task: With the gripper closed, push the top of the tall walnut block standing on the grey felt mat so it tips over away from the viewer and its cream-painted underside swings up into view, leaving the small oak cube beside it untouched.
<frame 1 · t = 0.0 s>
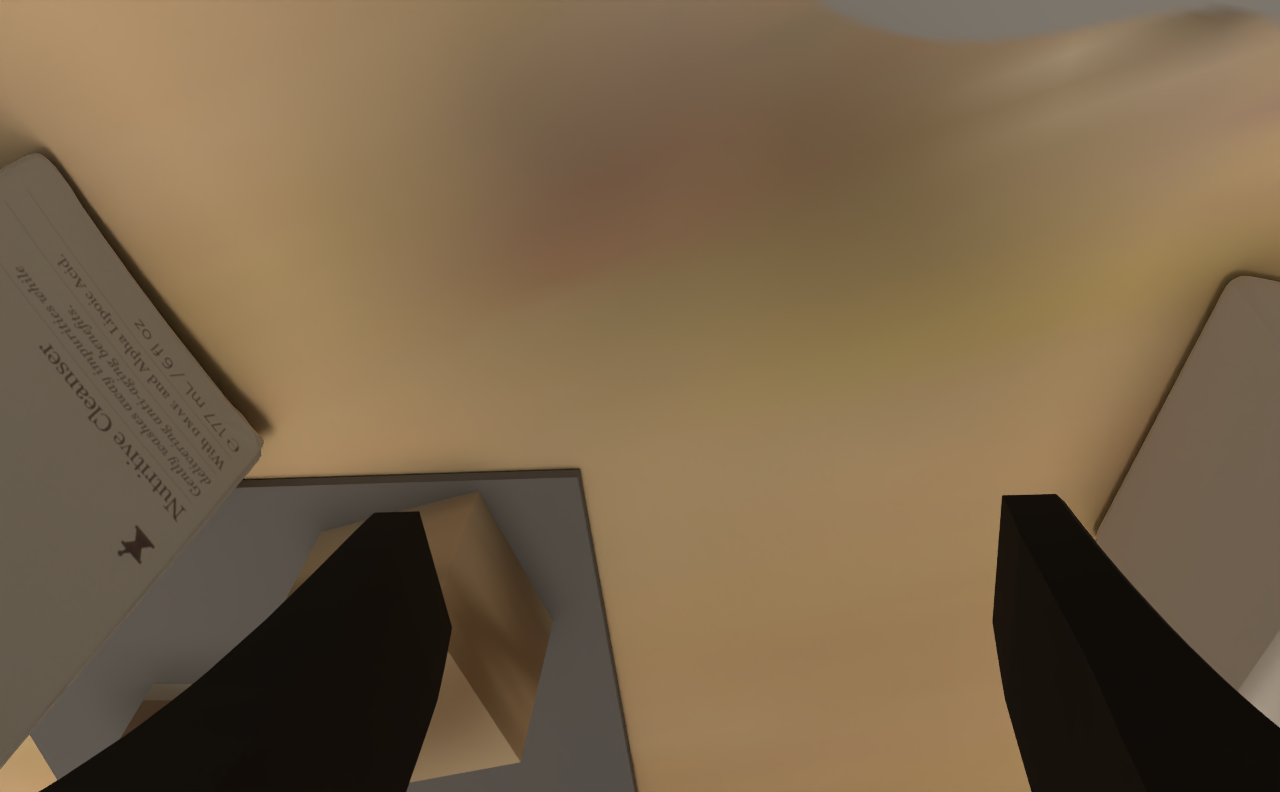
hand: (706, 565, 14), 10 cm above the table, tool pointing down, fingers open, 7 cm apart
felt mat: (299, 679, 31), on the table
walnut block: (249, 736, 32), resting on felt mat
skincare box: (69, 339, 26), on the table, touching felt mat
oak cube: (438, 577, 28), resting on felt mat
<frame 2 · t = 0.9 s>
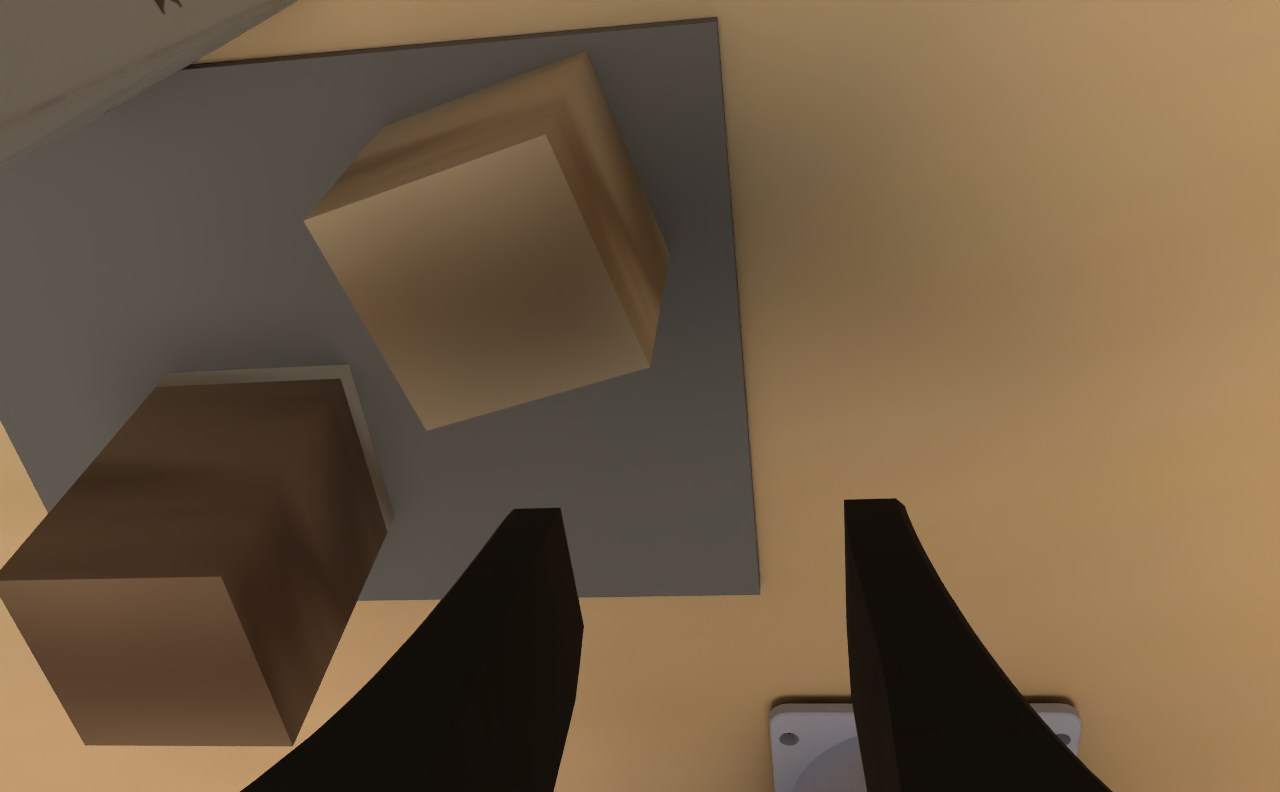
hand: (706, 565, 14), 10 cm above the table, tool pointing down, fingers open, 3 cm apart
felt mat: (347, 364, 25), on the table
walnut block: (285, 446, 27), resting on felt mat
oak cube: (528, 191, 22), resting on felt mat
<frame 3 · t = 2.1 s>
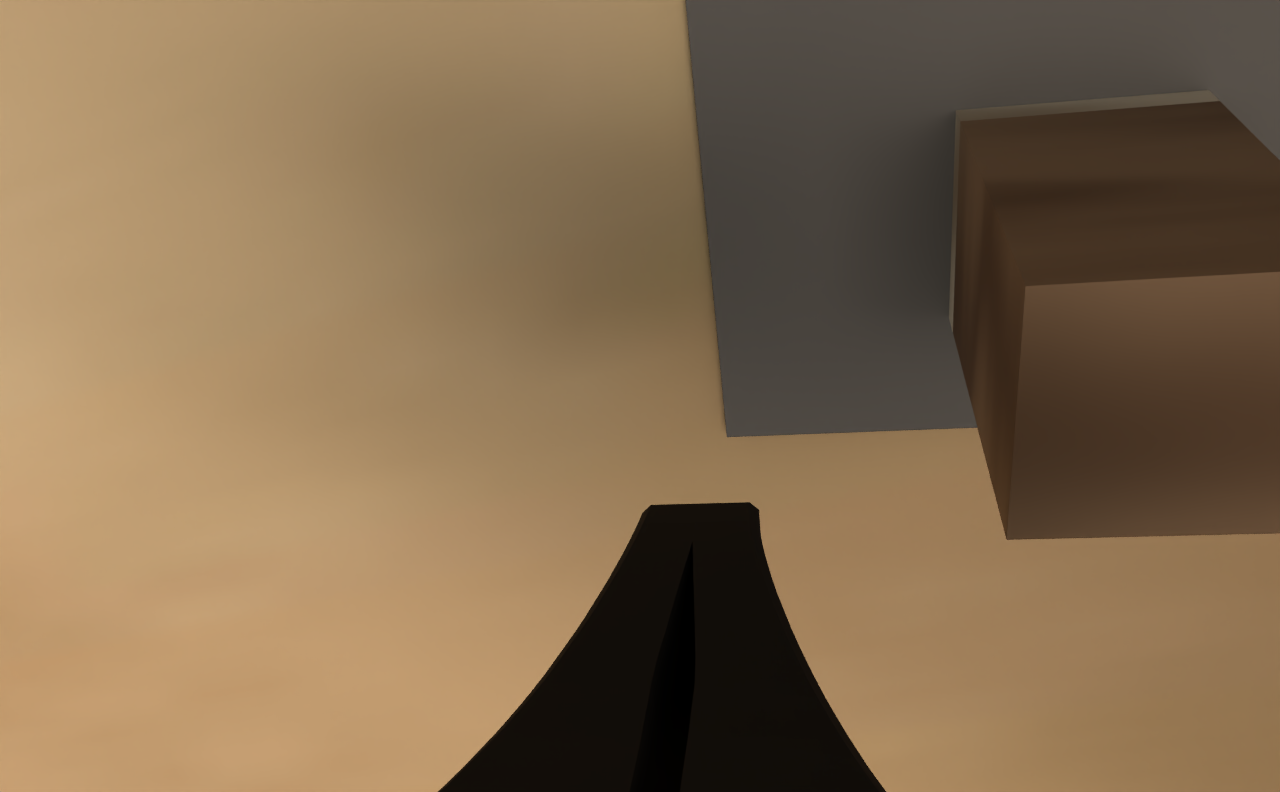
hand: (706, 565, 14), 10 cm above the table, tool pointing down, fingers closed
felt mat: (1190, 96, 20), on the table
walnut block: (1069, 211, 22), resting on felt mat
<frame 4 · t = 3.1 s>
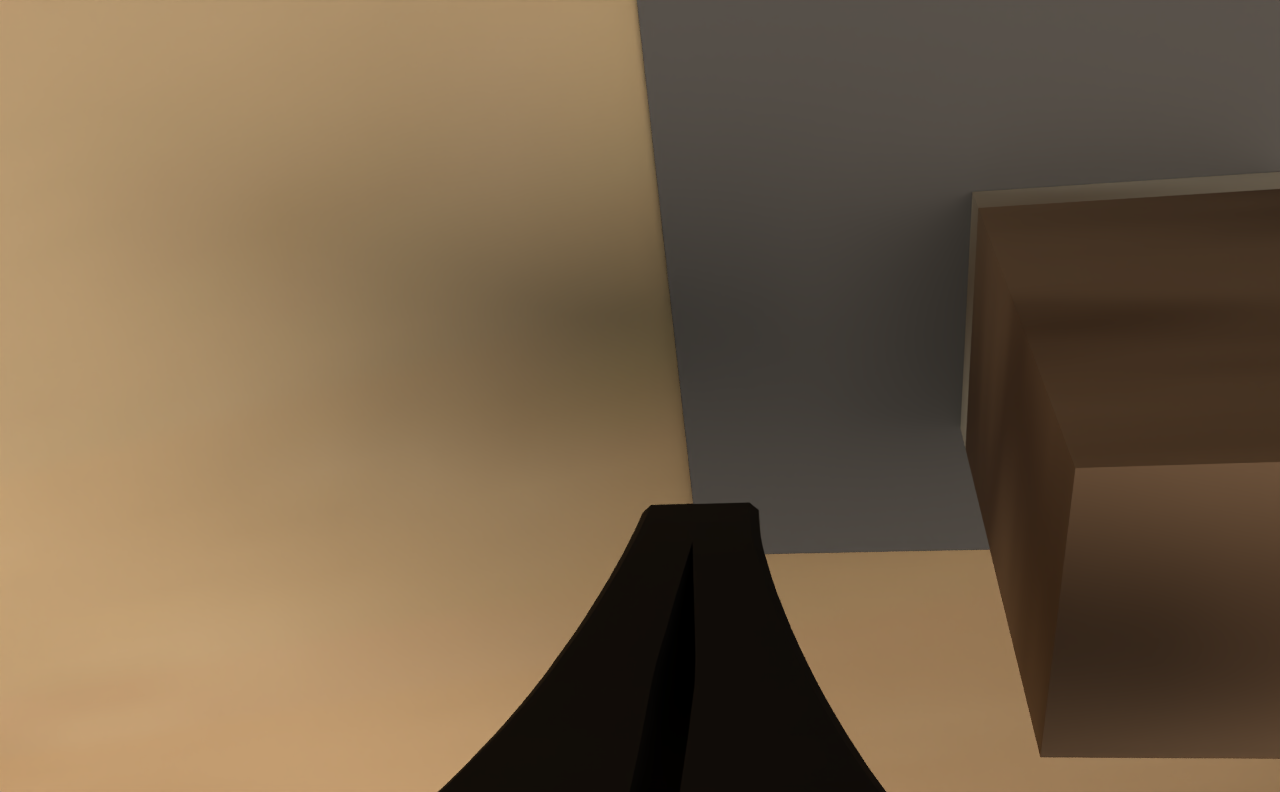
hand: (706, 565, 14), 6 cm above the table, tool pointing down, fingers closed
felt mat: (1256, 177, 17), on the table
walnut block: (1107, 310, 18), resting on felt mat
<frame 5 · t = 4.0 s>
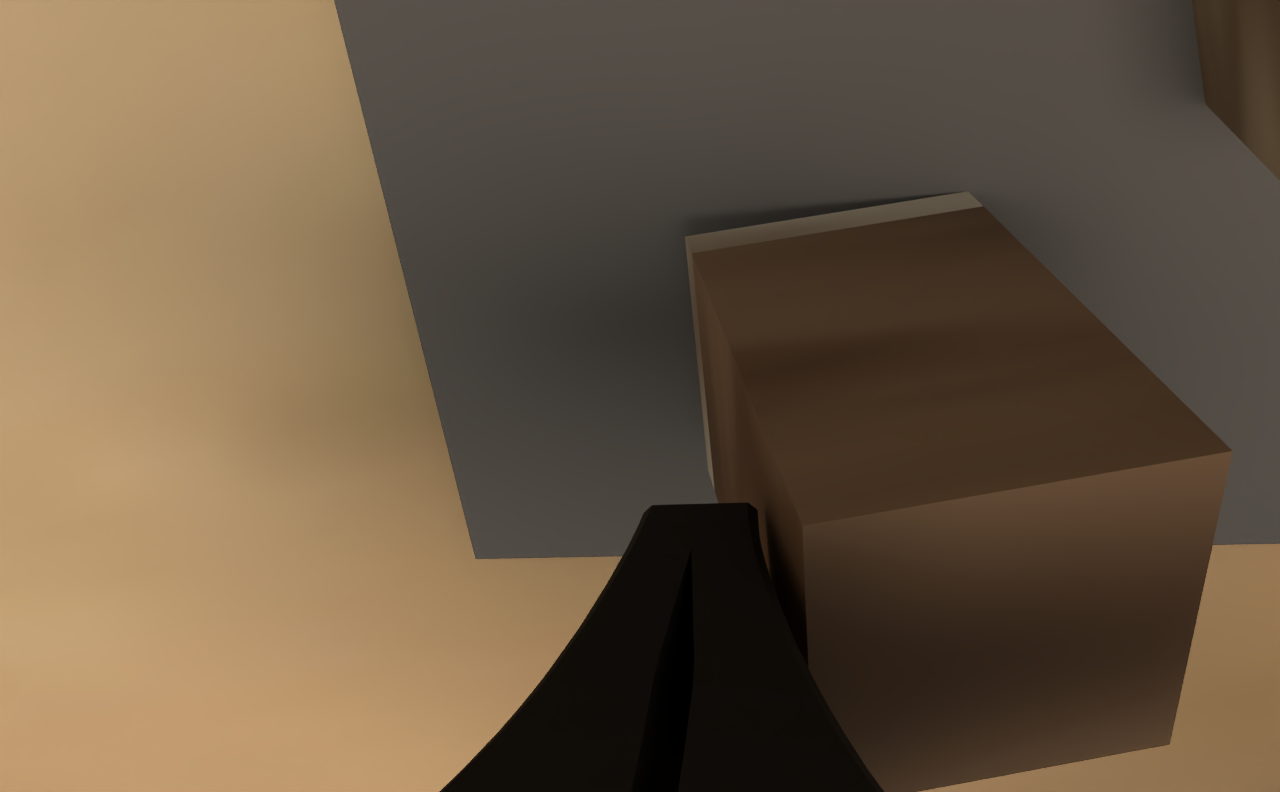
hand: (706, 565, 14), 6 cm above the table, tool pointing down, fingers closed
felt mat: (951, 196, 17), on the table
walnut block: (830, 338, 18), point 1 cm above the table, tilted 13°, touching felt mat, gripper
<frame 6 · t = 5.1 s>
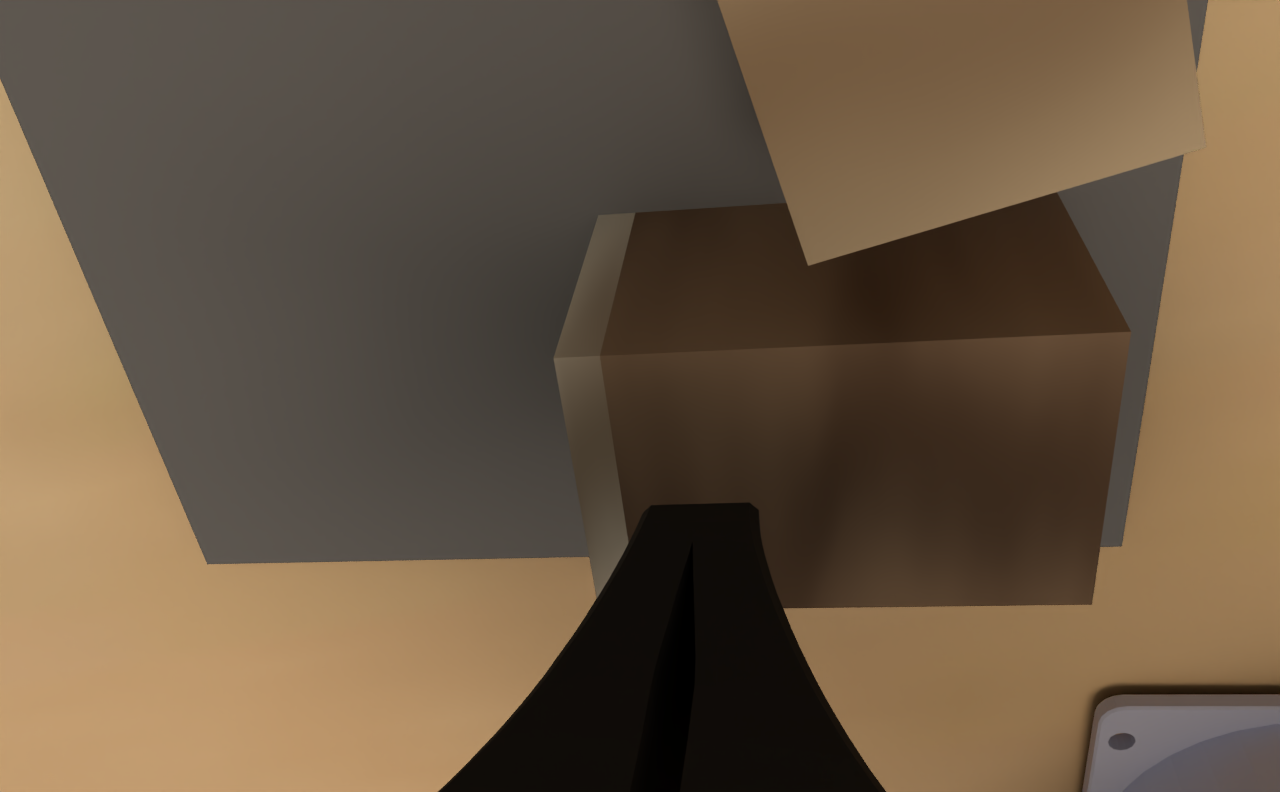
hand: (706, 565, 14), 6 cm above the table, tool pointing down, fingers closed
felt mat: (590, 219, 18), on the table
walnut block: (598, 405, 17), point 2 cm above the table, tilted 90°, touching felt mat
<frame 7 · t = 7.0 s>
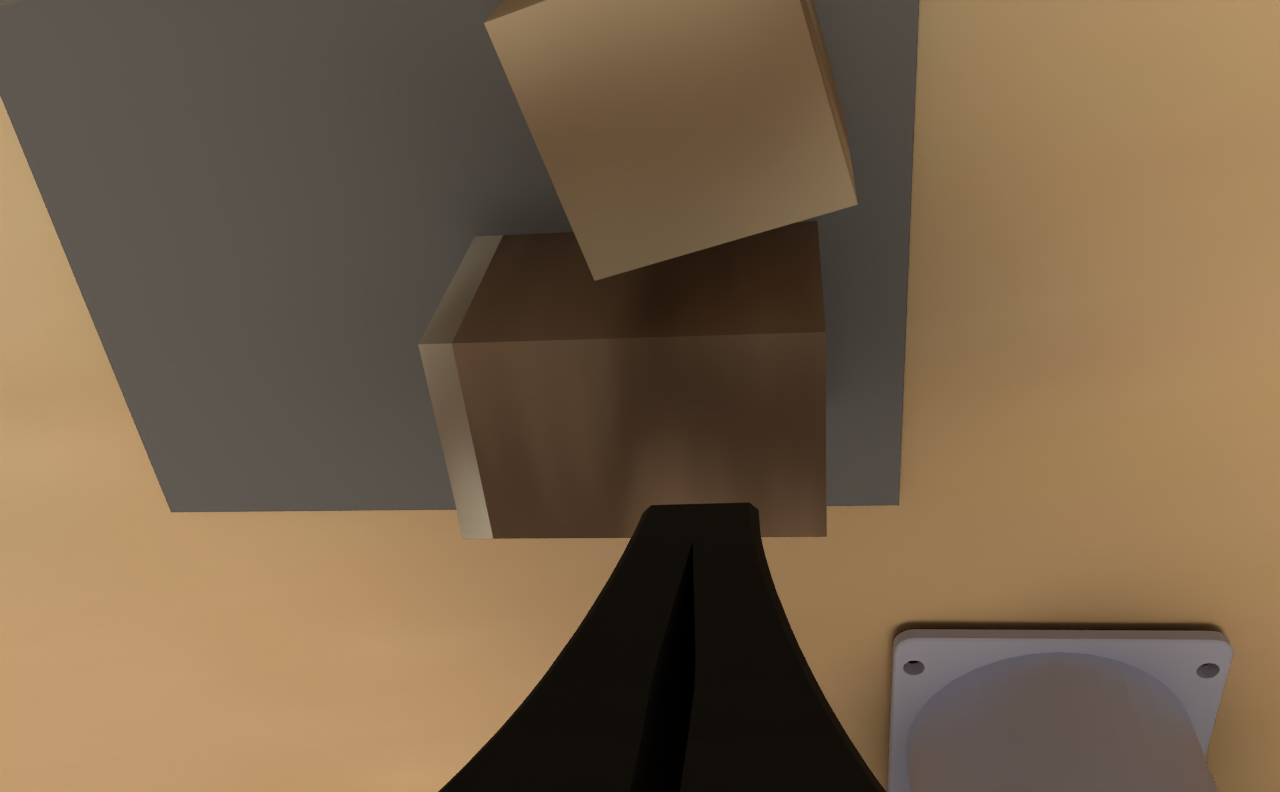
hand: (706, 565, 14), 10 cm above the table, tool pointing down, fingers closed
felt mat: (470, 239, 23), on the table
walnut block: (469, 383, 22), point 2 cm above the table, tilted 90°, touching felt mat
oak cube: (694, 34, 20), resting on felt mat
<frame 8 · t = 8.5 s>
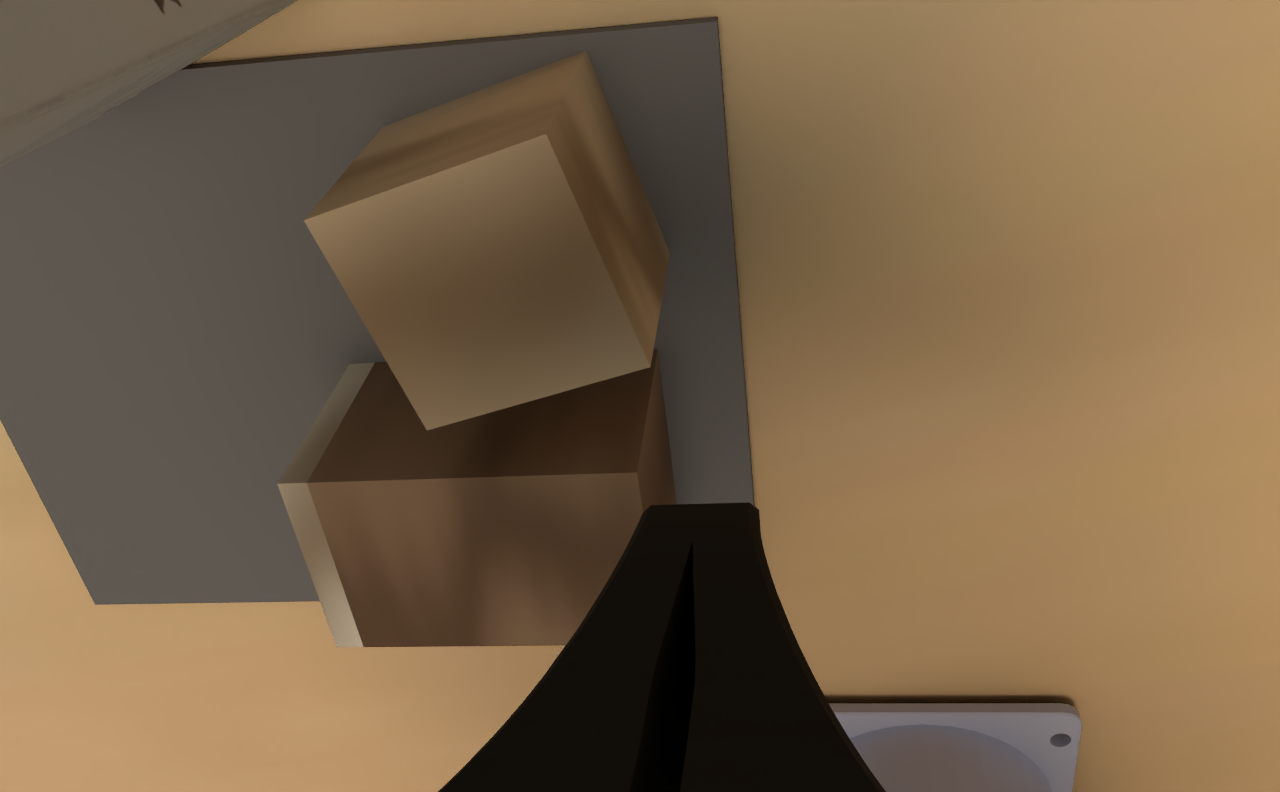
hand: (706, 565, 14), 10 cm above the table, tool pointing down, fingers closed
felt mat: (347, 364, 25), on the table
walnut block: (343, 501, 24), point 2 cm above the table, tilted 90°, touching felt mat
oak cube: (529, 191, 22), resting on felt mat
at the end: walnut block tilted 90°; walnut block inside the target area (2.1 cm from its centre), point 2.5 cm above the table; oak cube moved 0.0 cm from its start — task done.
